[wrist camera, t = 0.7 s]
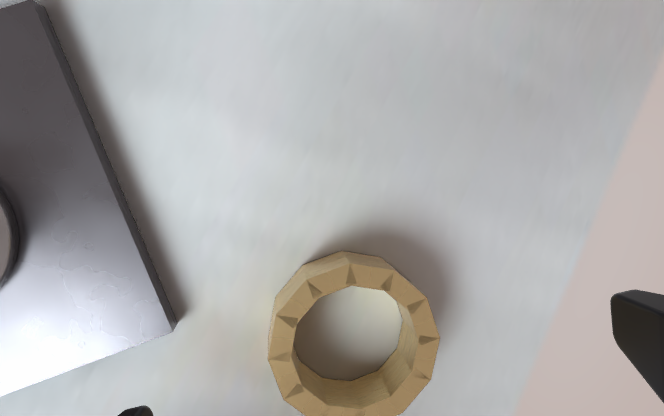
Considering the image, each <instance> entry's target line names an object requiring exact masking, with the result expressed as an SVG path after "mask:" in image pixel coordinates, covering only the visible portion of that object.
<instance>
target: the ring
mask: <svg viewBox="0 0 664 416" xmlns="http://www.w3.org/2000/svg"><path fill="white" fill-rule="evenodd" d="M349 286H358V287H364V288H371V289H377V290H384V291H385V292H387V293H388V294H389V295H390V296H391V297H393V298H394V299H395V300H396V301H397V304H398V307H399V310H400V313H401V316H402V319H403V322H402V327H401V331H400V336H399V341H398V346H397V349H396V350H395V351H394V352H393V353H392V355H391V356H390V357H389V358H388V359H387V360H386V362H385V363H384V364H383V365H382V366H381V367H380V369H379V370H378V371H375V372H373V373H370V374H368V375H365V376H363V377H360V378H357V379H355V380H352V381H345V380H336V379H328V378H321V377H320V376H319V375H318V374H316V373H315V372H314V371H312V370H311V369H310V368H308V367H307V366H306V365H304V364H303V363H302V362H300V361H299V359H298V356H297V354H296V351H295V348H294V346H293V342H294V337H295V331H296V326H297V323H298V322H299V321H300V320H301V318H302V317H303V316H304V315H305V314H306V313H307V311H308V310H309V309H310V308H311V307H312V306H313V304H314V303H315V302H316V301H317V300H318V299H319V298H320V297H322V296H325V295H328V294H330V293H333V292H336V291H338V290H341V289H344V288H346V287H349ZM439 340H440V336H439V333H438V330H437V327H436V324H435V321H434V318H433V315H432V312H431V309H430V306H429V303H428V300H427V297H425V296H424V295H423V294H422V293H421V292H420V291H419V290H418V289H417V288H416V287H415V286H414V285H413V284H412V283H411V282H409V281H408V280H407V279H406V278H405V277H404V276H402V275H401V274H400V273H399V272H398V271H396V270H395V269H394V268H393V267H392V266H391V265H389V264H388V263H387V262H386V261H385V260H383V259H382V258H381V257H376V256H370V255H364V254H358V253H352V252H346V251H339V252H337V253H334V254H331V255H329V256H326V257H323V258H320V259H318V260H315V261H312V262H310V263H307V264H304V265H302V266H301V267H300V269H299V270H298V271H297V272H296V273H295V275H294V276H293V277H292V278H291V279H290V280H289V282H288V283H287V284H286V285H285V286H284V287H283V289H282V290H281V291H280V292H279V293H278V294H277V296H276V297H275V303H274V308H273V314H272V319H271V325H270V330H269V336H268V361H269V364H270V366H271V369H272V371H273V374H274V376H275V379H276V382H277V384H278V387H279V389H280V392H281V394H282V397H283V399H284V400H285V401H286V402H288V403H289V404H290V405H292V406H293V407H294V408H296V409H297V410H298V411H300V412H301V413H302V414H304V415H305V416H396V415H399V414H401V413H403V412H404V410H405V409H406V408H407V407H408V406H409V405H410V403H411V402H412V401H413V400H414V399H415V398H416V396H417V395H418V394H419V393H420V392H421V391H422V389H423V388H424V387H425V386H426V385H427V384H428V382H429V381H430V380H431V377H432V372H433V368H434V363H435V358H436V354H437V349H438V345H439Z"/></svg>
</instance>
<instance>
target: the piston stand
mask: <svg viewBox="0 0 664 416" xmlns="http://www.w3.org/2000/svg"><path fill="white" fill-rule="evenodd" d="M176 325H177V321H176V319H175V316H174V314H173V311H172V309H171V307H170V304H169V302H168V300H167V297H166V295H165V292H164V290H163V288H162V285H161V283H160V281H159V278H158V276H157V273H156V271H155V269H154V266H153V264H152V262H151V259H150V257H149V254H148V252H147V250H146V247H145V245H144V243H143V240H142V238H141V236H140V233H139V231H138V228H137V226H136V224H135V221H134V219H133V217H132V214H131V212H130V209H129V207H128V205H127V202H126V200H125V198H124V195H123V193H122V190H121V188H120V186H119V183H118V181H117V179H116V176H115V174H114V172H113V169H112V167H111V164H110V162H109V160H108V157H107V155H106V153H105V150H104V148H103V145H102V143H101V141H100V138H99V136H98V134H97V131H96V129H95V126H94V124H93V122H92V119H91V117H90V115H89V112H88V110H87V107H86V105H85V103H84V100H83V98H82V96H81V93H80V91H79V89H78V86H77V84H76V81H75V79H74V77H73V74H72V72H71V70H70V67H69V65H68V62H67V60H66V58H65V55H64V53H63V51H62V48H61V46H60V43H59V41H58V39H57V36H56V34H55V32H54V29H53V27H52V25H51V22H50V20H49V17H48V15H47V13H46V10H45V8H44V7H42V6H41V5H39V4H38V3H36V2H35V1H33V0H28V1H25V2H21V3H18V4H15V5H12V6H8V7H5V8H2V9H0V396H3V395H6V394H8V393H11V392H14V391H16V390H19V389H22V388H24V387H27V386H30V385H32V384H35V383H38V382H40V381H43V380H46V379H48V378H51V377H54V376H56V375H59V374H62V373H64V372H67V371H70V370H72V369H75V368H78V367H80V366H83V365H86V364H88V363H91V362H94V361H96V360H99V359H102V358H104V357H107V356H110V355H112V354H115V353H118V352H120V351H123V350H126V349H128V348H131V347H134V346H136V345H139V344H142V343H144V342H147V341H150V340H152V339H155V338H158V337H160V336H163V335H166V334H168V333H171V332H173V330H174V329H175V327H176Z"/></svg>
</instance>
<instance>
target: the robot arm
mask: <svg viewBox="0 0 664 416" xmlns="http://www.w3.org/2000/svg"><path fill="white" fill-rule="evenodd" d="M611 315H612V327H613V335H614V338H615V341H616V343H617V345H618V346H619V348H620V349H621V350H622V351H623V353H624V354H625V355H626V356H627V358H628V359H629V360H630V361H631V363H632V364H633V365H634V366H635V368H636V369H637V370H638V371H639V372H640V374H641V375H642V376H643V378H644V379H645V380H646V382H647V383H648V384H649V385H650V387H651V388H652V389H653V390H654V391H655V393H656V394H657V395H658V397H659V398H660V399H661V400H662V402H663V403H664V295H661V294H656V293H651V292H645V291H640V290H629V291H625V292H621V293H617V294H614V295H613V296H612V298H611ZM118 416H153V413H152V411H151V409H150V408H149V407H147V406H139V407H135V408H131V409H127V410H125V411H123V412H122V413H121V414H119V415H118Z"/></svg>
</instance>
